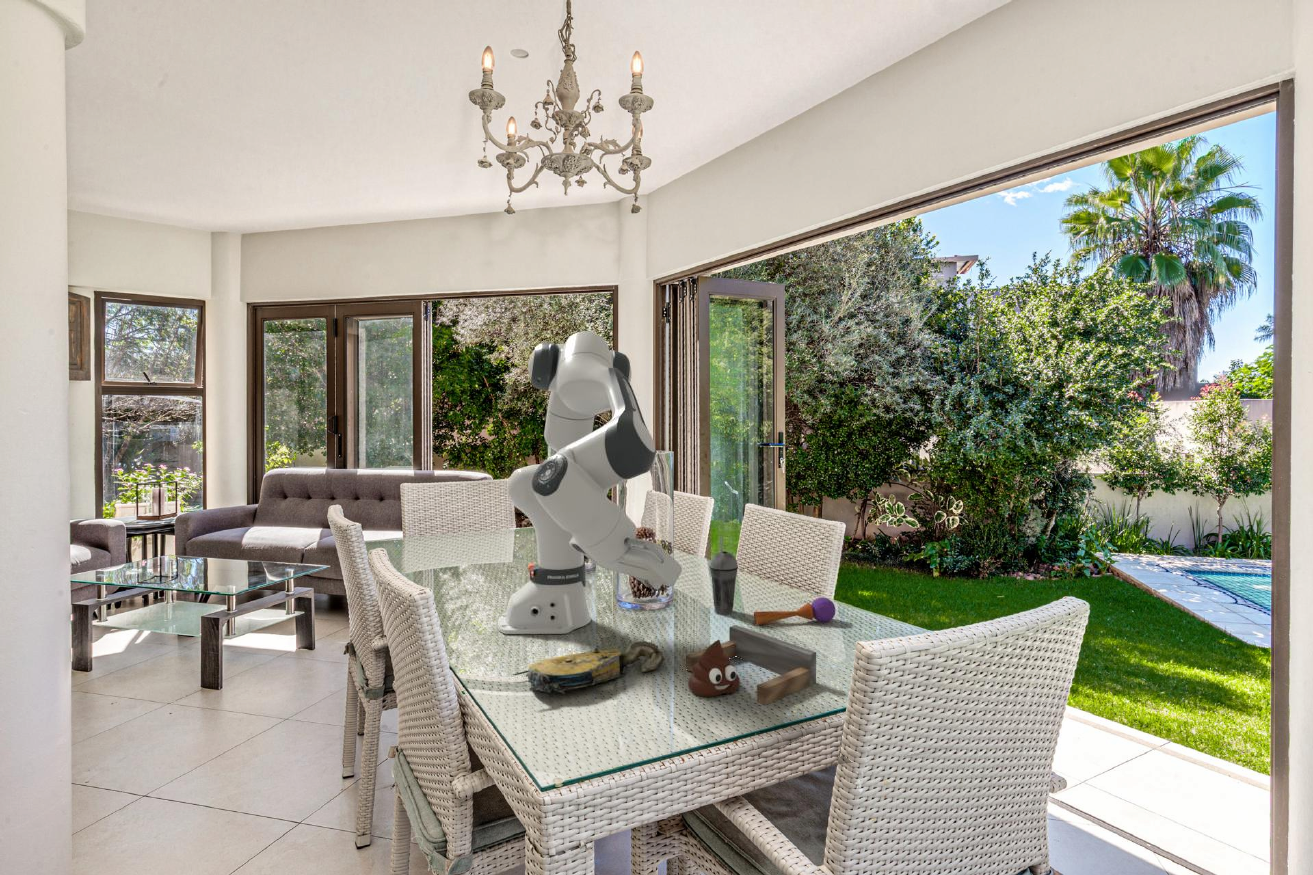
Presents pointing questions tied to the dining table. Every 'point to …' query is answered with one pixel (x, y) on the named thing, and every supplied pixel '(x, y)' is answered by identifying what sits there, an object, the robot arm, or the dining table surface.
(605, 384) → the robot arm
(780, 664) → the channel
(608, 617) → the dining table surface
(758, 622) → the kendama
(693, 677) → the poop emoji
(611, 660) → the pulley block
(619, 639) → the dining table surface
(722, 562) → the beverage cup
